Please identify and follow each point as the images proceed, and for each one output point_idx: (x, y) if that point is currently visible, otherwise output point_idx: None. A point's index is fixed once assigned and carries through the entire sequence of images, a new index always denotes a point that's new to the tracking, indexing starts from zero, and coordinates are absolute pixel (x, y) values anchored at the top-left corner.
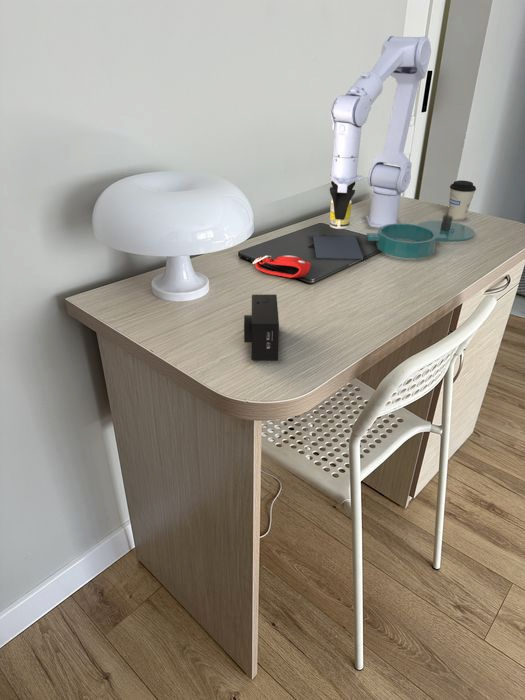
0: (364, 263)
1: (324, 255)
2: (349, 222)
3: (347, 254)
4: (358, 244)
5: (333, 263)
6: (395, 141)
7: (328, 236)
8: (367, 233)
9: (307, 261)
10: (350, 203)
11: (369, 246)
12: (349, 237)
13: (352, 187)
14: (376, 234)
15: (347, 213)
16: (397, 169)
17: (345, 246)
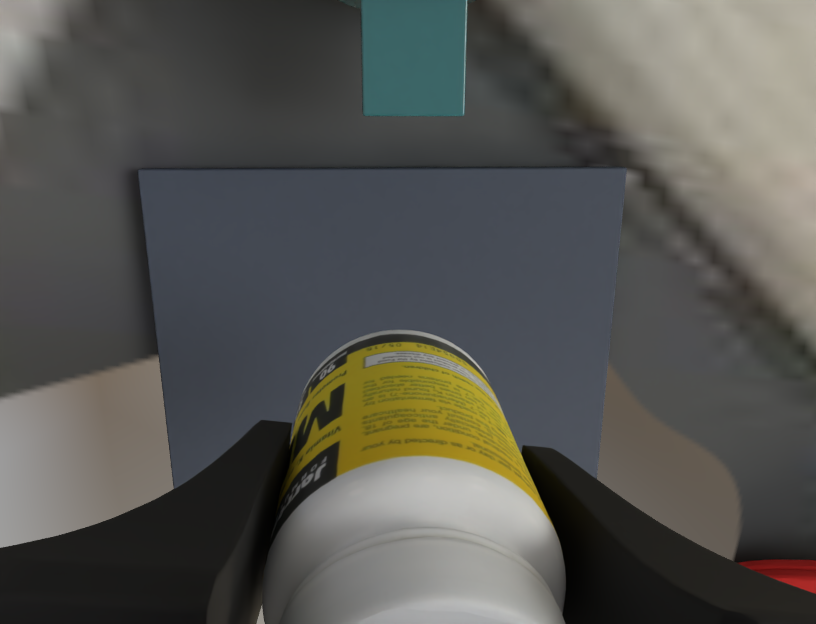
0: (701, 169)
1: (573, 445)
2: (432, 346)
3: (560, 285)
4: (337, 169)
5: (682, 387)
6: None
7: (170, 399)
8: (374, 109)
9: (809, 583)
10: (503, 475)
11: (336, 67)
12: (168, 228)
13: (230, 575)
14: (398, 12)
15: (508, 437)
16: None
17: (390, 284)
